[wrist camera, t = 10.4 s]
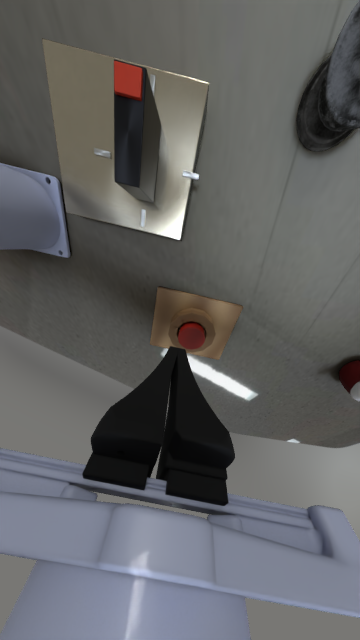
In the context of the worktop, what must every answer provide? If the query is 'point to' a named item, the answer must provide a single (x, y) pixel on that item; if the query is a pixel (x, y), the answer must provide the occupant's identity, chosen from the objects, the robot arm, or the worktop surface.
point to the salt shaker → (333, 92)
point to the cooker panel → (98, 140)
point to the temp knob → (135, 131)
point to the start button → (191, 335)
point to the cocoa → (351, 378)
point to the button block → (193, 320)
